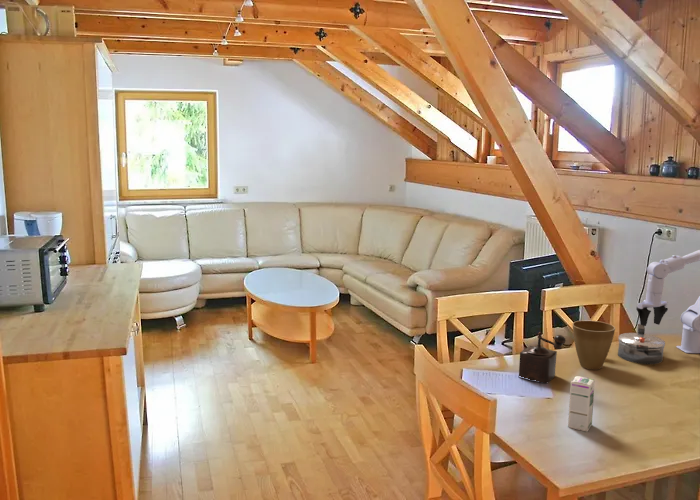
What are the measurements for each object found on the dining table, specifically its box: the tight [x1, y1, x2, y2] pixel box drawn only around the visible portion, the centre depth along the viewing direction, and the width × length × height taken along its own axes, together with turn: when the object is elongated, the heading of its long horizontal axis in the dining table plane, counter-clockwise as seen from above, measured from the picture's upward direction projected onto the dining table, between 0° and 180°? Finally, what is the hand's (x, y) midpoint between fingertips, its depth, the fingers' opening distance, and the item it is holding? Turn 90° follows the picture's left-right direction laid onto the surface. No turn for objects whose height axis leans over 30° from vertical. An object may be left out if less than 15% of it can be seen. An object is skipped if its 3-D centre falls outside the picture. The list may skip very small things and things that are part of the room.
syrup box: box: [567, 375, 596, 433], centre depth 189 cm, size 6×6×14 cm
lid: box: [618, 323, 666, 350], centre depth 252 cm, size 25×17×3 cm, turn 157°
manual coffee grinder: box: [518, 331, 566, 384], centre depth 226 cm, size 16×11×18 cm
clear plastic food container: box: [617, 340, 665, 365], centre depth 252 cm, size 23×16×6 cm
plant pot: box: [572, 319, 616, 371], centre depth 239 cm, size 15×15×16 cm
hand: (649, 324), depth 258 cm, fingers open, 7 cm apart
